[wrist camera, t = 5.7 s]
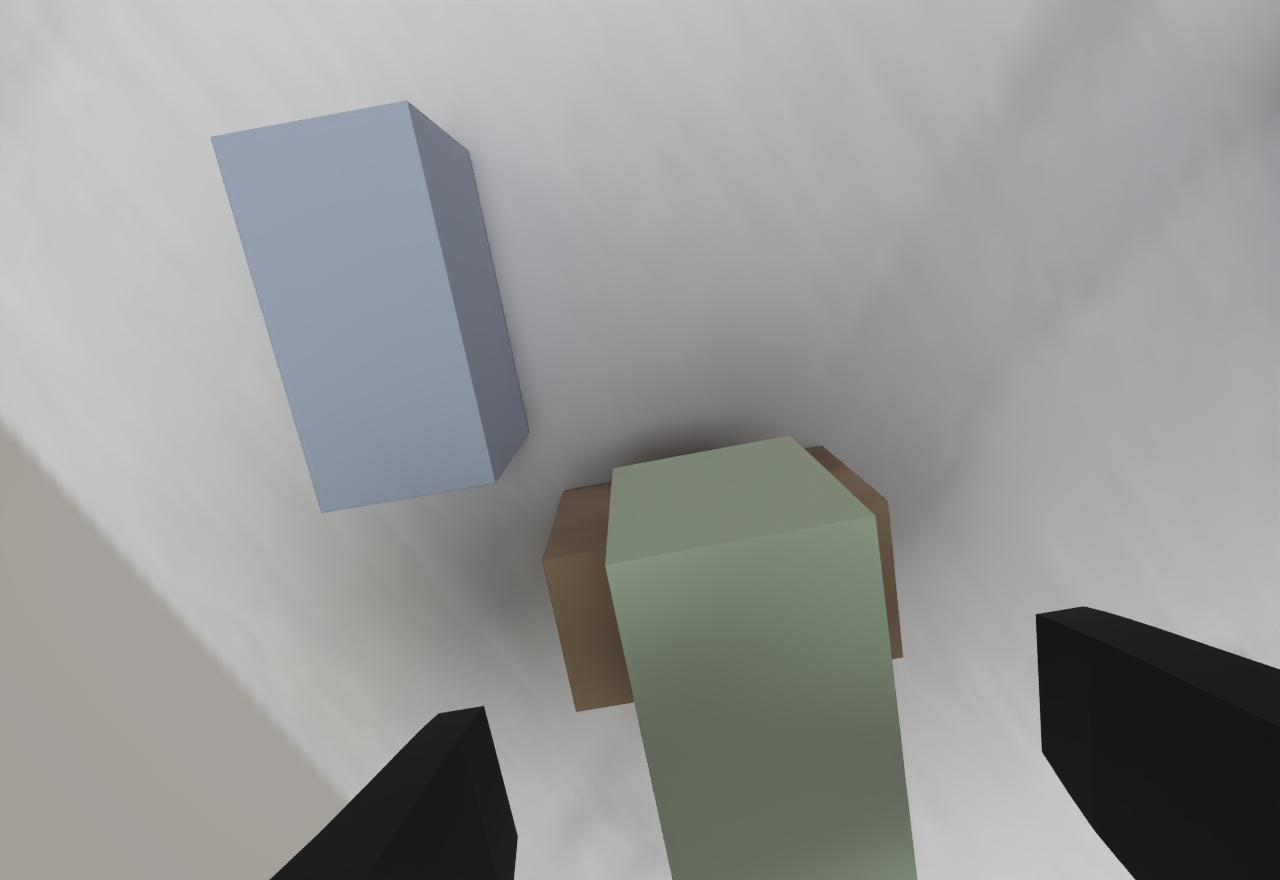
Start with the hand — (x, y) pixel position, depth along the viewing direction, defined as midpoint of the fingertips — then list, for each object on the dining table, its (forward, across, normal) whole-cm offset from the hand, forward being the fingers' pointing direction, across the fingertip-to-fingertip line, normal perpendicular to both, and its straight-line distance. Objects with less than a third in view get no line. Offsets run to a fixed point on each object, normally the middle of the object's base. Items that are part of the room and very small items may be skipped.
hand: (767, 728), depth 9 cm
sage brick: (+3, 0, 0) cm, 3 cm away
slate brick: (+7, +5, -6) cm, 11 cm away
